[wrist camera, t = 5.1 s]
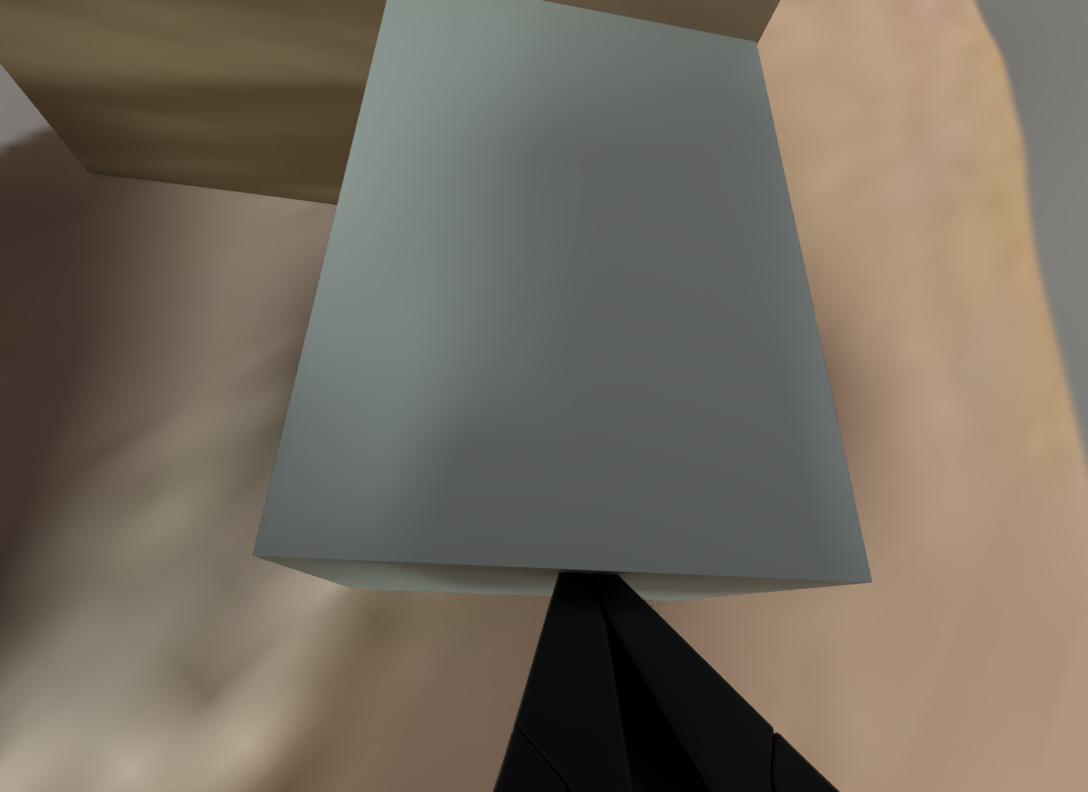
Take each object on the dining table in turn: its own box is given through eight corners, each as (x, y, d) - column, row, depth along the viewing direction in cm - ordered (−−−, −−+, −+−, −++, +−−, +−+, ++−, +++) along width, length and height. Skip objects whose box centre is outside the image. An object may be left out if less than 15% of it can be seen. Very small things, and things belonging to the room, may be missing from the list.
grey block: (672, 600, 15) (872, 581, 8) (355, 589, 14) (252, 555, 7) (649, 246, 20) (756, 41, 13) (415, 216, 19) (393, -29, 12)
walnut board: (650, 245, 20) (808, -53, 11) (88, 172, 18) (-293, -298, 9) (647, 197, 21) (789, -113, 12) (114, 120, 19) (-203, -349, 10)
